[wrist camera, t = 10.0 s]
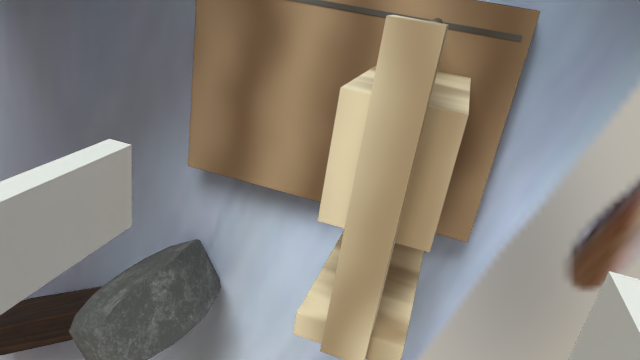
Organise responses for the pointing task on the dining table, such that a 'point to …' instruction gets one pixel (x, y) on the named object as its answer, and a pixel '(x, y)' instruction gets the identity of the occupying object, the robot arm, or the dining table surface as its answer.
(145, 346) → the hammer
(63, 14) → the dining table surface
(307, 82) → the board
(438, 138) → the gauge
